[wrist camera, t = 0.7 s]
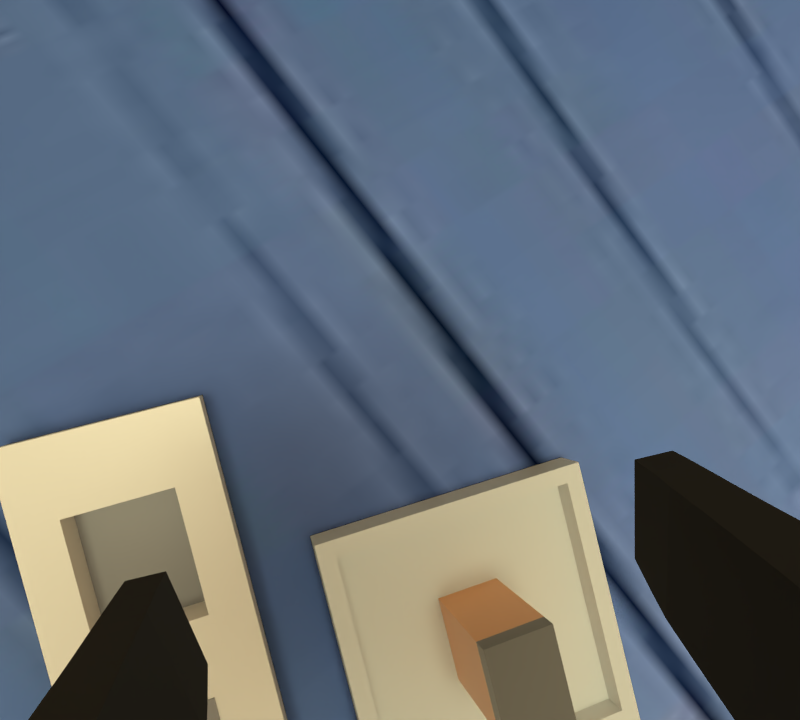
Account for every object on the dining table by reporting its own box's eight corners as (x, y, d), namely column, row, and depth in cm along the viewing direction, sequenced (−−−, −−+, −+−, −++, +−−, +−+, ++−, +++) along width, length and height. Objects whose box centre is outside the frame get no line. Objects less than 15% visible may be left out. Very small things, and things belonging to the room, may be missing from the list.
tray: (619, 702, 34) (640, 719, 32) (378, 802, 31) (386, 828, 29) (560, 457, 34) (578, 462, 32) (309, 536, 31) (314, 546, 29)
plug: (515, 657, 32) (576, 720, 26) (458, 679, 32) (507, 748, 26) (496, 577, 32) (552, 624, 26) (438, 598, 31) (483, 649, 26)
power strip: (302, 777, 30) (308, 813, 28) (120, 849, 29) (108, 896, 26) (202, 394, 30) (199, 396, 27) (8, 444, 28) (-15, 451, 25)
